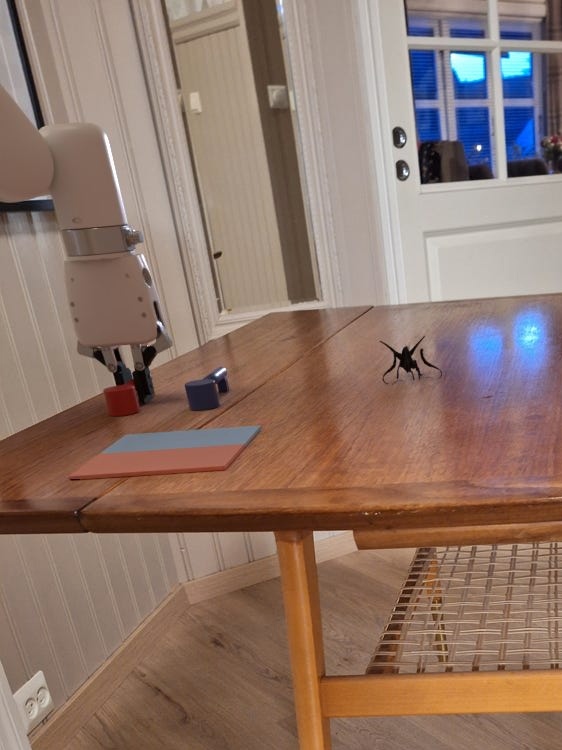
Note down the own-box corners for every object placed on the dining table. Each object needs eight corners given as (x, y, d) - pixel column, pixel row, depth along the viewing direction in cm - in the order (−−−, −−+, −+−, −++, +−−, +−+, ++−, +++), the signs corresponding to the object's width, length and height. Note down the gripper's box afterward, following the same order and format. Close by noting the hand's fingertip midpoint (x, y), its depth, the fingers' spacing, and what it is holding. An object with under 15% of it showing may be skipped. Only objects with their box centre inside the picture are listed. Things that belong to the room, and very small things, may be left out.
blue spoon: (215, 409, 105) (210, 384, 103) (186, 411, 105) (180, 386, 104) (239, 388, 115) (235, 365, 114) (213, 390, 116) (208, 366, 114)
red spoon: (134, 415, 105) (127, 390, 104) (105, 417, 105) (98, 392, 104) (166, 393, 116) (160, 370, 114) (139, 395, 116) (133, 372, 114)
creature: (447, 389, 111) (432, 364, 117) (446, 348, 108) (431, 325, 113) (387, 396, 110) (375, 371, 115) (384, 355, 106) (372, 331, 112)
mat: (69, 480, 82) (68, 476, 82) (126, 438, 95) (125, 434, 95) (225, 469, 81) (224, 465, 81) (261, 428, 95) (260, 425, 94)
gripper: (174, 237, 105) (206, 391, 114) (48, 247, 106) (90, 399, 115) (153, 242, 99) (189, 404, 108) (19, 252, 99) (66, 412, 108)
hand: (138, 400), depth 111 cm, fingers closed on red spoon, 1 cm apart
